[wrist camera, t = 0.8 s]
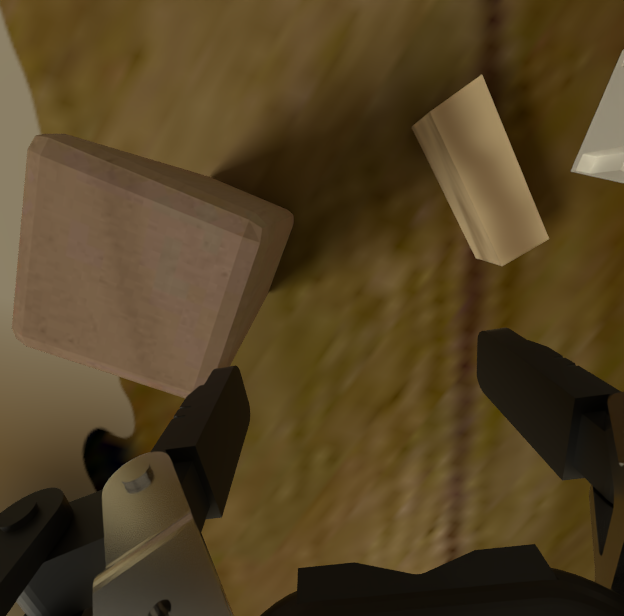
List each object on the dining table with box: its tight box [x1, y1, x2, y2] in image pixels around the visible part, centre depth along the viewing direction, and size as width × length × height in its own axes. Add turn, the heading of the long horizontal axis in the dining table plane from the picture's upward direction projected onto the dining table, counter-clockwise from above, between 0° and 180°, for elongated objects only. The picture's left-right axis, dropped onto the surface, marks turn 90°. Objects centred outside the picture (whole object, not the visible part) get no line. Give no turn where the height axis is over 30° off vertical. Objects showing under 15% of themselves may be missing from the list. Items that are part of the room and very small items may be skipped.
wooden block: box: [12, 134, 294, 398], centre depth 22 cm, size 10×10×20 cm
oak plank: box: [412, 75, 549, 266], centre depth 28 cm, size 4×15×5 cm, turn 34°
